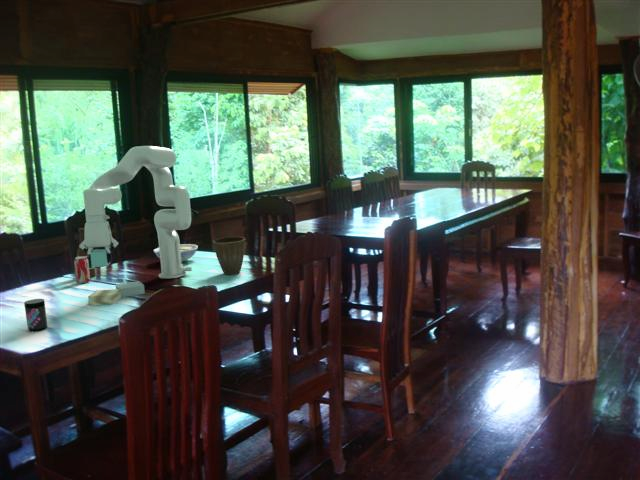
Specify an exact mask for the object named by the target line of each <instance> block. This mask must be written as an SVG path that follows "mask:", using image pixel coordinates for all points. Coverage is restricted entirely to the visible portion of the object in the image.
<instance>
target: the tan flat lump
mask: <svg viewBox="0 0 640 480" xmlns="http://www.w3.org/2000/svg"><path fill="white" fill-rule="evenodd" d="M87 298H88V305H89V306H97V305H99V306H100V305H101V306H102V305H114V304H116V302H118V301H119V300H120V299H122V297H121V292H120V289H116V288H114V289H112V288H111V289H99V290H94V292H92V293H91V294H89V295H88V296H87Z"/></svg>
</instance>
